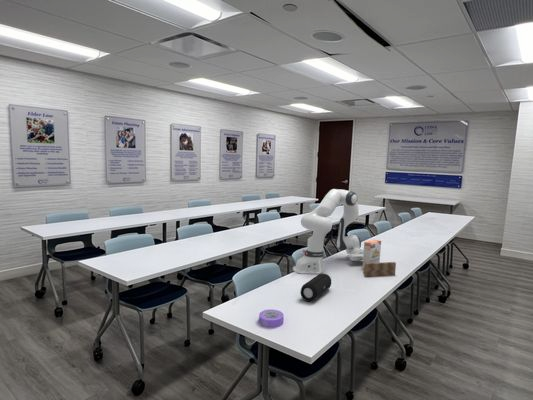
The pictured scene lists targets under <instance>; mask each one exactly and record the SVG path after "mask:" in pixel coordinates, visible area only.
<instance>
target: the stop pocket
mask: <svg viewBox="0 0 533 400" xmlns="http://www.w3.org/2000/svg"><path fill="white" fill-rule="evenodd" d="M396 265H397V263H396V262H395V261H390V262H387V261H385V262H380V263H365V268H364V270H362V271H363V276H364V277H365V278H371V277H372V278H373V277H374V278H375V277H390V276H391V277H393V276H394V277H395V276H396V269H397V268H396V267H397V266H396Z"/></svg>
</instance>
